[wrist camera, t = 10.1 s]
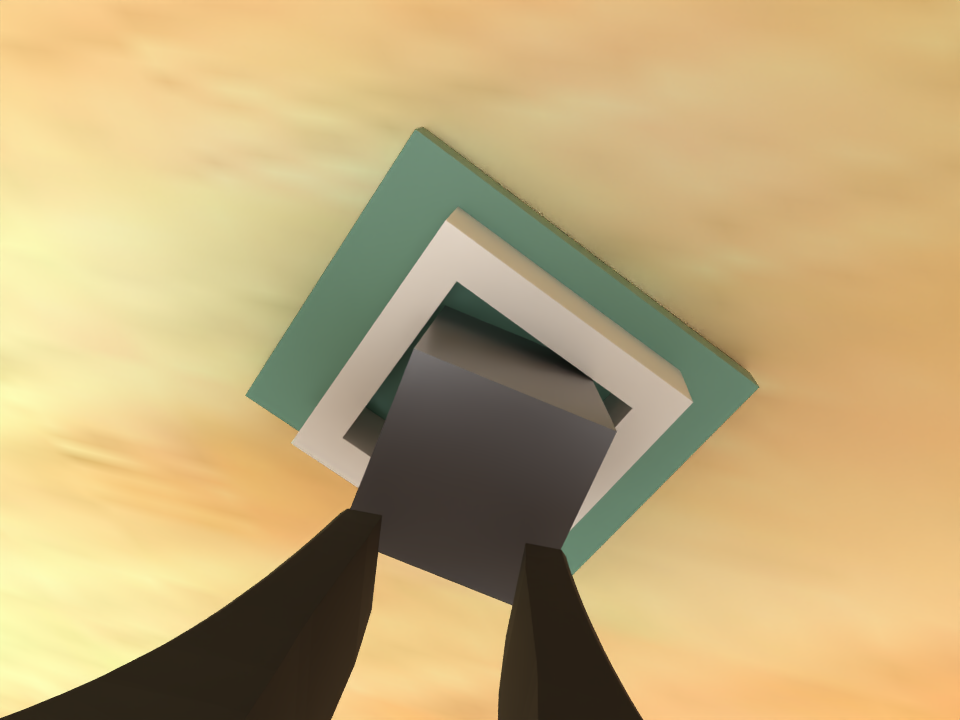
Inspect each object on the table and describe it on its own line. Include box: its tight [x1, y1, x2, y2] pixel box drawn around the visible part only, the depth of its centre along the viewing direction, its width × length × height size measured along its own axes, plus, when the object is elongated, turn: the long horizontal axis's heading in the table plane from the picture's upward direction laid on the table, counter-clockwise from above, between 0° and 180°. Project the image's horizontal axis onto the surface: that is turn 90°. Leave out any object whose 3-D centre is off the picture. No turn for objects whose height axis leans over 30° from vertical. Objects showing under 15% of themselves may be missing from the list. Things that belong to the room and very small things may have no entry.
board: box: [245, 127, 759, 575], centre depth 20 cm, size 11×9×1 cm
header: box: [291, 207, 693, 530], centre depth 18 cm, size 7×7×2 cm
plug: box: [350, 305, 617, 605], centre depth 16 cm, size 4×6×6 cm
